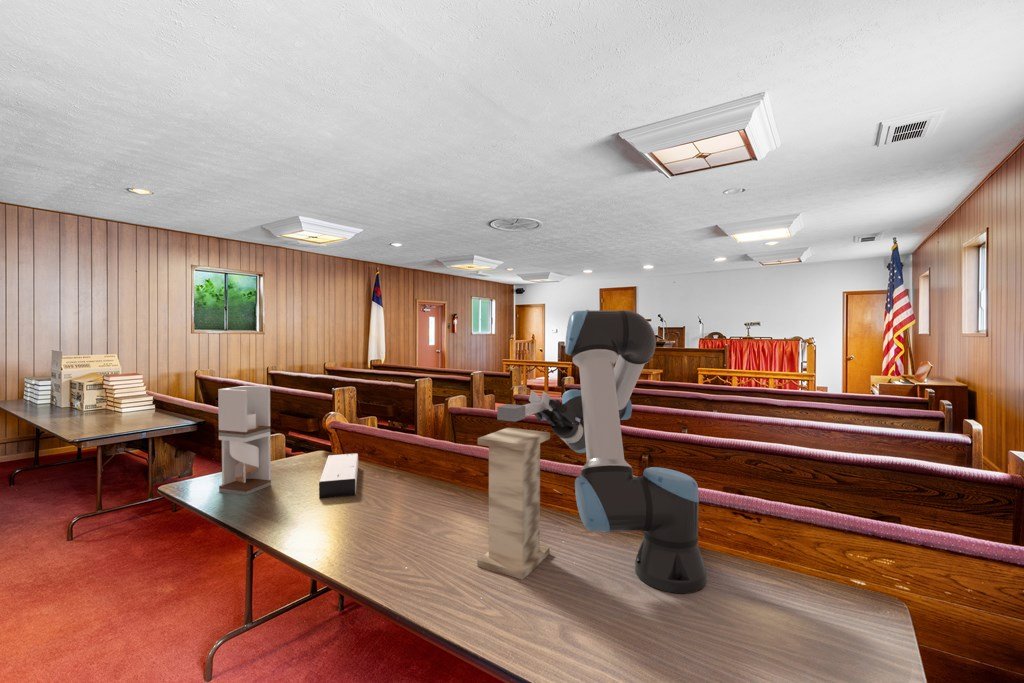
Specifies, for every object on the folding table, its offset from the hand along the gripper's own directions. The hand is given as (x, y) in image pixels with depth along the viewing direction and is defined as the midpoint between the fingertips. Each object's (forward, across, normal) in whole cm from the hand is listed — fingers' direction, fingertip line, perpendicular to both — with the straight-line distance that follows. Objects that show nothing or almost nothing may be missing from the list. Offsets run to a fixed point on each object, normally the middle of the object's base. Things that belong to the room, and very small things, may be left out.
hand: (537, 396), depth 122 cm
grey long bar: (+2, 0, -5) cm, 6 cm away
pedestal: (-8, 0, -39) cm, 40 cm away
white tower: (-7, +106, -40) cm, 113 cm away
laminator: (-25, +83, -30) cm, 92 cm away
